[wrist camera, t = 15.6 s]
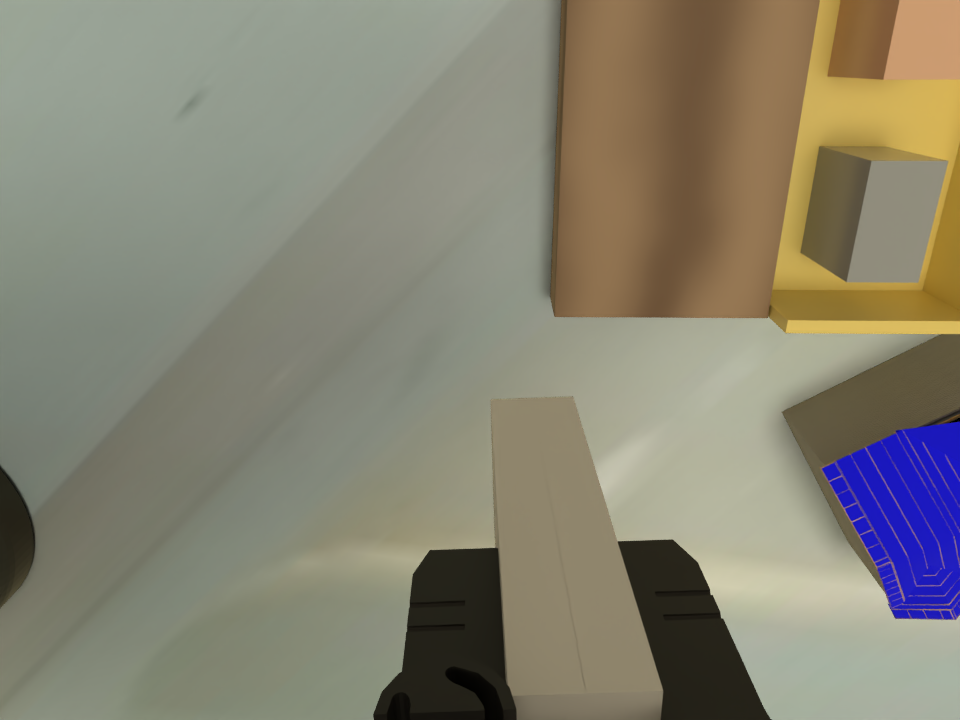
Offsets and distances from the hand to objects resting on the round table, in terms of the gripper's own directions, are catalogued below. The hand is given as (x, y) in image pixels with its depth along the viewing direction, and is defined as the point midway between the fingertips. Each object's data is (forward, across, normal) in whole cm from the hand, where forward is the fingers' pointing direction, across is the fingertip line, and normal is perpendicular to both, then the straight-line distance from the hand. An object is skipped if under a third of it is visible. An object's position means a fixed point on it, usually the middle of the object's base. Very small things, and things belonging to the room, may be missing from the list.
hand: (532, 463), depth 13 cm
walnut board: (+23, +8, +5) cm, 25 cm away
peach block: (+20, +15, +8) cm, 26 cm away
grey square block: (+20, +15, 0) cm, 25 cm away
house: (+23, +22, -13) cm, 34 cm away
